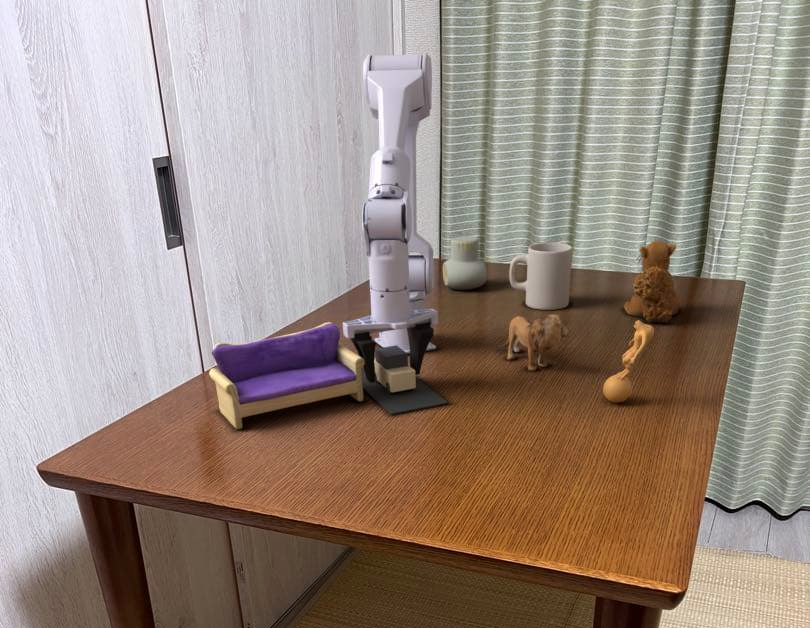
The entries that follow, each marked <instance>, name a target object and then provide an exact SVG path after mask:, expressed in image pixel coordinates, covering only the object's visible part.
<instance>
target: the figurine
mask: <svg viewBox="0 0 810 628" xmlns="http://www.w3.org/2000/svg"><path fill="white" fill-rule="evenodd" d="M633 328H634V329H635V332H634V337H633V338H632V339H631V340H630V341H629V342H628V346H629V347H630V348H629V349H627V350H626V352H625V353H623V354H622V356H621V357H622V365H623V366H624V367H625V369H623V370H622V371H620V372H618V373H616V374H614V375H611V376H609V377H608V378H607V379H606V380H605V382H604V384H603V389H602V392H603V396H604V397H605V398H606V399H607V400H608V401H609V402H612V403H618V404H619V403H622V402H625V401H626V400H627V399H628V398H629V397H630V396H631V393H632V390H633V387H632V382H631V380H630V379H629V378H628V377H627V376H628V375H629V374H630V373H631V371H632V366H633V365H634V363H635V362H636V359H637V357H638V356H639V355H640V354H641V352H642V351H643V349H645V347H646V345H647V344H648V343H649V341H650V340H651V339H652V338H653V336H654V335H655V328H654V327H653V325H650V324H647V323H644V322H642V321H641V320H639V319H638V320H636V321H635V322H634V325H633Z"/></svg>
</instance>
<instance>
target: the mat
mask: <svg viewBox="0 0 810 628" xmlns="http://www.w3.org/2000/svg"><path fill="white" fill-rule="evenodd" d="M361 375H362V388H363V391H364V392H365V393H367V394H368V395H369V396H370V397H371V398H372V399H373V400H374V401H375V402H376V403H378V404H379V406H380V407H382V408H383V409H384V410H385V411H386V412H387V413H388V414H389V415H390V416H395V415H400V414H405V413H410V412H415V411H419V410H426V409H430V408H435V407H441V406H446V405H448V404H449V401H447V400H445V399H444V398H443V397H441V396H440V395H439V394H438V393H436V392H435V391H434V390H433V389H432V388H430V387H428V386H427V385H426V384H425V383H423V382H422V380H420V379H418V378H417V376H415V378H416V388H414V389H412V390H403V391H398V392H394V393H391V394H388V392H387V390H386V387H385V386H383V385H382V384H381V383H380V382H379V383H376V382H373V383H370V382H369V381H368V380H367V379H366V374H365V370H364V367H362V368H361Z"/></svg>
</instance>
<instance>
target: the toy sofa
mask: <svg viewBox="0 0 810 628" xmlns="http://www.w3.org/2000/svg"><path fill="white" fill-rule="evenodd" d="M340 339H341V331H340V327H338V326H337V325H336V324H335V323H333V322H330V321H328V322H327V321H326V322H325V323H322V324H320V325H318V326H315V327H313V328H310V329H306V330H302V331H298V332H293V333H289V334H284V335H280V336H275V337H269V338H265V339H259V340H254V341H251V342H246V343H230V342H217V343H215V345H214V347H213V350H212V351H211V353H210V354H212V357H213V359H214V361H215V364H216V365H217V368H216V367H212V368H210V370H209V372H208V374H209V377H210V379H212V380H213V381H214V383H215V389H216V393H217V401H218V407H219V412H220V413H221V414H222V415H223V416H224V418H225V419H226V420H227V421H228V422H229V423H230V424H231V425H232V427H234V428H235V430H242V428H243V419H242V418H246V417H251V416H255V415H258V414H263V413H264V414H265V413H268V412H272V411H277V410H278V411H279V410H283V409H287V408H291V407H295V406H300V405H304V404H310V403H315V402H320V401H323V400H328V399H332V398H337V397H341V396H346V395H349V396H350V397H352V398H353V399H354V400H356V401H357V402H363V401H364V390H363V388H362V375H361V368H363V366H364V364H365V361H364V359H363V358H361V357H360V356H359V354H358V353H355V352H354V351H352V350H351V349H349V348H347V347H346V346H344V345H343V344H342V343H340Z"/></svg>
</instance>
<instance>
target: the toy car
mask: <svg viewBox="0 0 810 628" xmlns="http://www.w3.org/2000/svg"><path fill="white" fill-rule="evenodd" d="M374 364H375V376H376V377H375V382H376V383H379V382H380V383H381V384H382V385H383V386H385V387H386V390H387V392H388V394H391V393H394V392H398V391H403V390H412V389H414V388H416V378H417V377H416V374H415V370H414V369H412V368H411V367H410V364H409V354H408V353H406V352H405V351H404V350H402V349H401V348H399V347H398V346H397V345H395V346H389V347H378V348H375V359H374ZM415 377H416V378H415Z"/></svg>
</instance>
